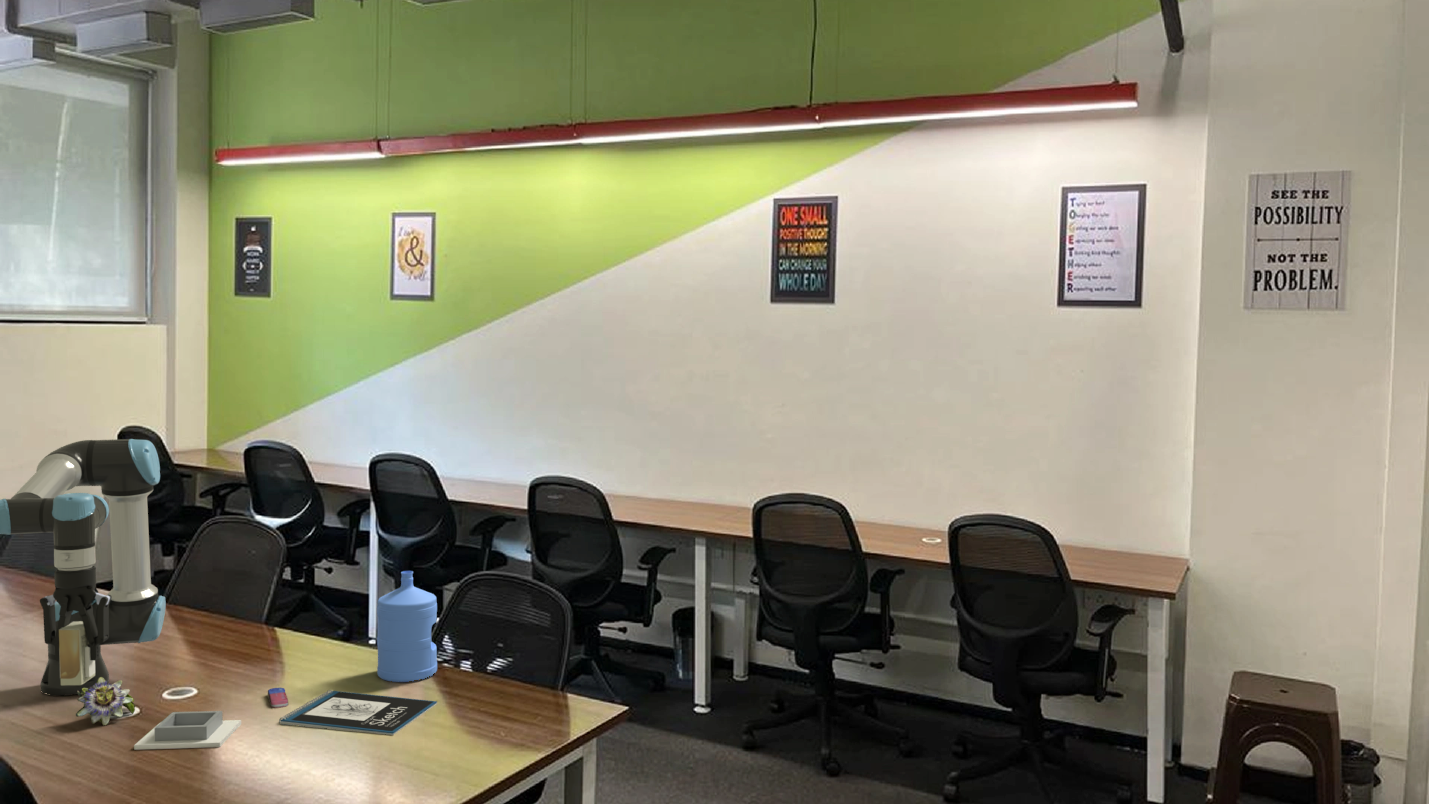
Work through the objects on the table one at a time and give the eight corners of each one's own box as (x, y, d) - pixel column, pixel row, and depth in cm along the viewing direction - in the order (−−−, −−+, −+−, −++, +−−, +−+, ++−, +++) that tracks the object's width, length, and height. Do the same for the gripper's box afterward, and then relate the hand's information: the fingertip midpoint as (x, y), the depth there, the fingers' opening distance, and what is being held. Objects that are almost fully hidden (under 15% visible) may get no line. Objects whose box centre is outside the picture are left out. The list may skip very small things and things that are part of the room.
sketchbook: (393, 738, 240) (393, 729, 240) (276, 726, 246) (276, 718, 246) (437, 706, 261) (437, 697, 261) (328, 696, 267) (328, 688, 267)
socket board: (134, 749, 230) (133, 731, 230) (160, 726, 244) (160, 709, 244) (220, 747, 232) (219, 729, 232) (241, 724, 246) (241, 707, 246)
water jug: (401, 687, 273) (400, 581, 272) (365, 675, 283) (364, 572, 281) (449, 672, 286) (449, 571, 284) (413, 661, 295) (413, 563, 294)
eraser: (289, 708, 258) (289, 701, 258) (271, 710, 256) (271, 703, 256) (284, 692, 268) (284, 686, 268) (267, 695, 266) (267, 688, 266)
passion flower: (106, 747, 245) (74, 715, 238) (90, 726, 252) (59, 696, 245) (149, 711, 251) (120, 680, 244) (133, 693, 258) (104, 662, 251)
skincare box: (75, 676, 226) (73, 620, 225) (96, 676, 226) (94, 620, 226) (59, 686, 220) (57, 629, 219) (80, 686, 220) (79, 628, 219)
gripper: (21, 571, 217) (24, 682, 218) (110, 570, 219) (113, 680, 220) (40, 563, 224) (43, 670, 226) (126, 562, 226) (128, 668, 228)
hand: (77, 675), depth 223 cm, fingers closed on skincare box, 4 cm apart
